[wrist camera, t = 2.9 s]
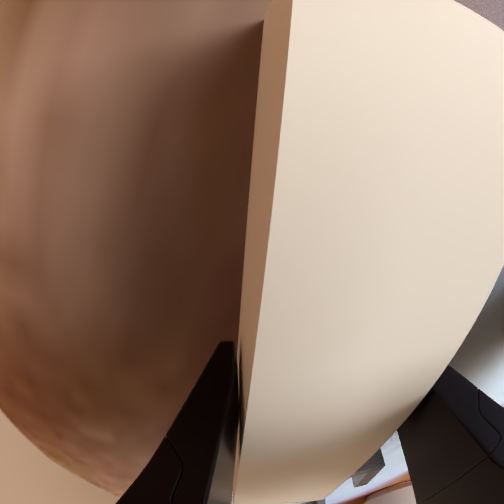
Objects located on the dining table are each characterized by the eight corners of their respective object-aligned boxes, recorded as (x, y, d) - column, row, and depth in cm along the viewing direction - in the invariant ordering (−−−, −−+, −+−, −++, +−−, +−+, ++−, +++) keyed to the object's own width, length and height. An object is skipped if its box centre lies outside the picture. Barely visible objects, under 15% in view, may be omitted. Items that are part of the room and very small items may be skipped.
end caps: (374, 428, 14) (385, 465, 12) (319, 505, 25) (321, 523, 23) (198, 445, 14) (196, 486, 12) (233, 512, 25) (233, 530, 23)
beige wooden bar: (424, 57, 6) (550, 67, 2) (311, 430, 14) (323, 499, 10) (263, 20, 5) (296, -52, 2) (231, 433, 13) (233, 505, 10)
